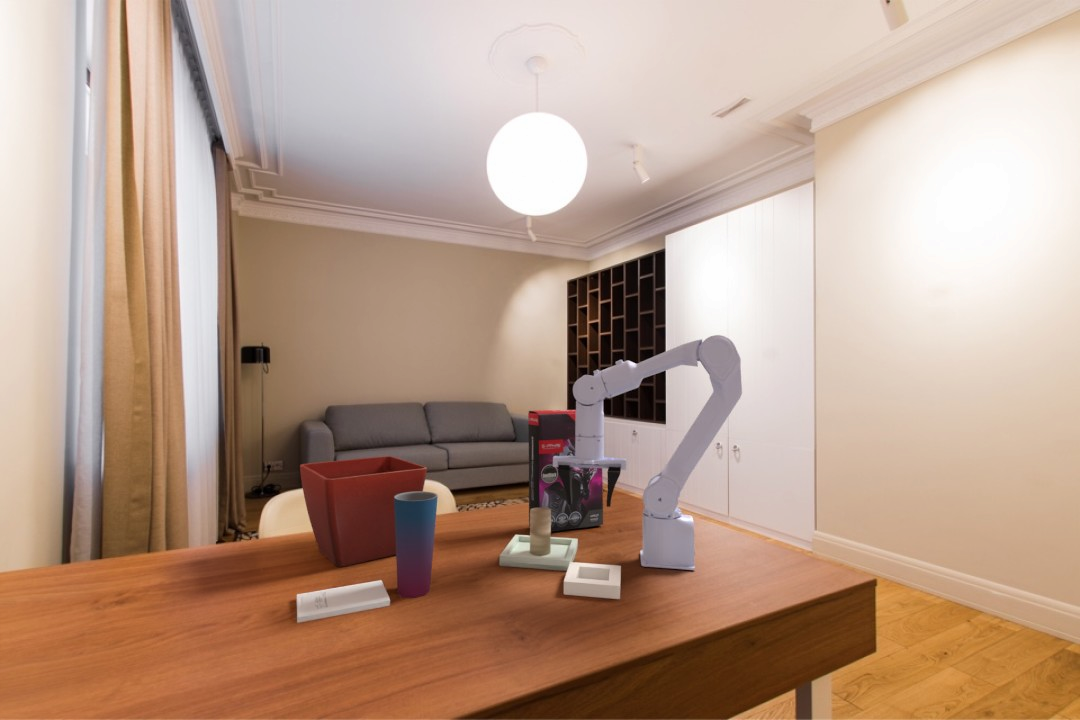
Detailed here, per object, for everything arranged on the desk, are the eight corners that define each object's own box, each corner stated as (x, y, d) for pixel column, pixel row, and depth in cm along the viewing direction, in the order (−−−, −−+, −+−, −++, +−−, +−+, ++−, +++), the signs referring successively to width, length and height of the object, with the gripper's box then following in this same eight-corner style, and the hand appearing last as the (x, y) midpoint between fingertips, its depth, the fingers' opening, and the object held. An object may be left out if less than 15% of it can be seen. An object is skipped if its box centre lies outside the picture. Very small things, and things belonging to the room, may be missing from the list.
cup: (424, 602, 74) (426, 501, 75) (383, 598, 76) (386, 499, 76) (442, 584, 81) (444, 492, 82) (404, 580, 82) (406, 490, 83)
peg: (551, 549, 97) (551, 507, 97) (549, 555, 93) (549, 512, 93) (531, 548, 97) (531, 507, 98) (528, 554, 93) (529, 511, 94)
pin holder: (620, 577, 85) (620, 565, 85) (619, 599, 76) (619, 586, 76) (570, 573, 86) (570, 561, 86) (563, 594, 78) (563, 581, 78)
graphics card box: (537, 535, 108) (539, 411, 110) (525, 527, 114) (527, 409, 116) (604, 527, 115) (604, 410, 117) (589, 519, 122) (589, 409, 123)
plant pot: (322, 579, 83) (326, 478, 84) (295, 548, 98) (298, 463, 99) (427, 555, 95) (429, 467, 96) (388, 531, 110) (390, 455, 111)
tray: (577, 547, 100) (577, 538, 100) (570, 571, 87) (570, 560, 88) (515, 543, 103) (515, 534, 103) (499, 565, 90) (499, 555, 90)
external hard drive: (389, 609, 73) (296, 627, 68) (380, 589, 80) (296, 603, 75) (390, 598, 73) (297, 615, 68) (381, 578, 81) (296, 592, 75)
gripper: (550, 436, 96) (550, 507, 95) (626, 438, 93) (626, 511, 93) (556, 433, 103) (555, 499, 102) (626, 435, 100) (626, 502, 100)
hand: (589, 504), depth 98 cm, fingers open, 7 cm apart
